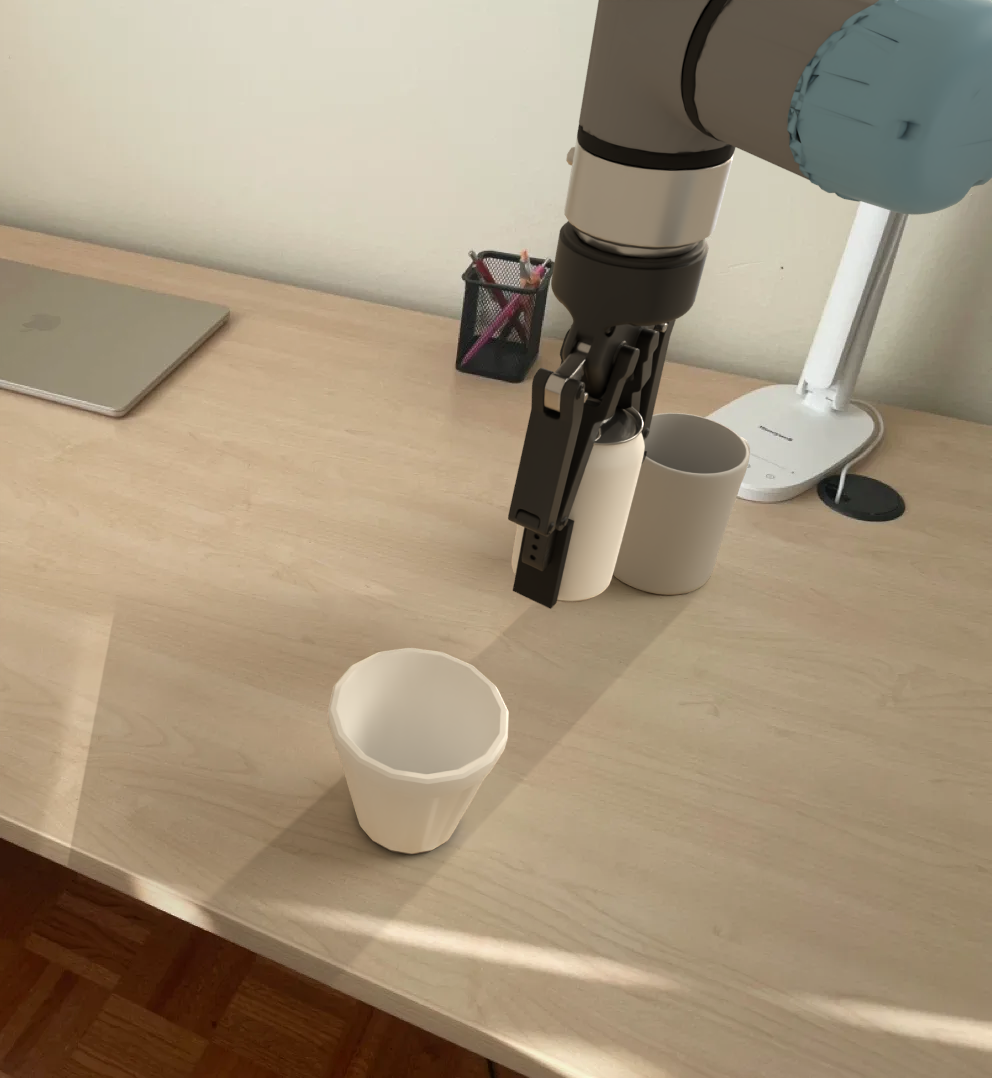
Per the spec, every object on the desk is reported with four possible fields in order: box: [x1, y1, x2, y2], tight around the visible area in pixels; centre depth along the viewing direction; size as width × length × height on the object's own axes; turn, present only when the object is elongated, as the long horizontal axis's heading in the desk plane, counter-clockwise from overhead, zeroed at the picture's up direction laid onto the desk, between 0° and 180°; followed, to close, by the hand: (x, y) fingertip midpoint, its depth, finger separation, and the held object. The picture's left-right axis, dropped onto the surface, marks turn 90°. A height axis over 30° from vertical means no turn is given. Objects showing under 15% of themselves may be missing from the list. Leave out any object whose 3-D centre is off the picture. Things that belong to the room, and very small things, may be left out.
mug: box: [612, 412, 751, 596], centre depth 80 cm, size 12×8×11 cm
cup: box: [327, 647, 510, 856], centre depth 61 cm, size 10×10×9 cm
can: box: [511, 396, 645, 603], centre depth 66 cm, size 6×6×12 cm
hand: (561, 567), depth 69 cm, fingers closed on can, 6 cm apart
